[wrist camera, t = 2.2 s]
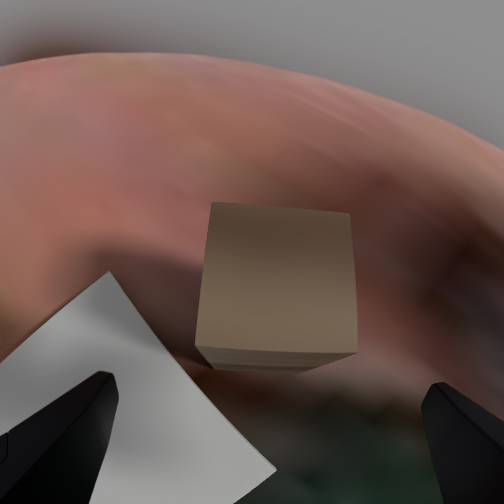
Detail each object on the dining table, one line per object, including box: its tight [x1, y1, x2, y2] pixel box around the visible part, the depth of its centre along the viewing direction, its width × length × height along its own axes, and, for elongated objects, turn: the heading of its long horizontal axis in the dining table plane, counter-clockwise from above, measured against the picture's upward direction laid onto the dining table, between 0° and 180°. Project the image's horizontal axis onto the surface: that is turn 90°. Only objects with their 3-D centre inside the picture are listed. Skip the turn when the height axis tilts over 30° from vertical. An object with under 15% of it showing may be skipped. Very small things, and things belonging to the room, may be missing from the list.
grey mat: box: [0, 271, 276, 504], centre depth 15 cm, size 16×16×1 cm
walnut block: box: [195, 202, 358, 374], centre depth 15 cm, size 5×5×10 cm
